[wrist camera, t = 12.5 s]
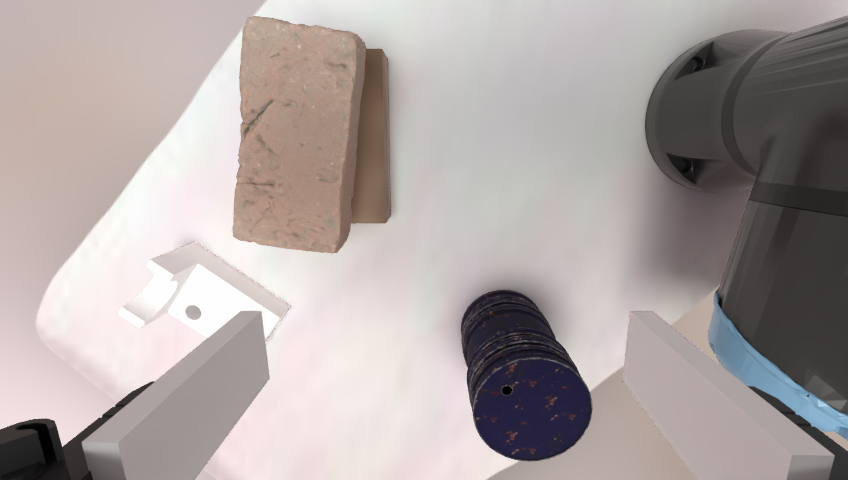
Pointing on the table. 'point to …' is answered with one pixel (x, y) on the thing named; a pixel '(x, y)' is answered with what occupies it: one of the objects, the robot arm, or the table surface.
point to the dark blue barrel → (521, 379)
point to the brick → (297, 134)
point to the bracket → (201, 293)
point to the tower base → (373, 145)
